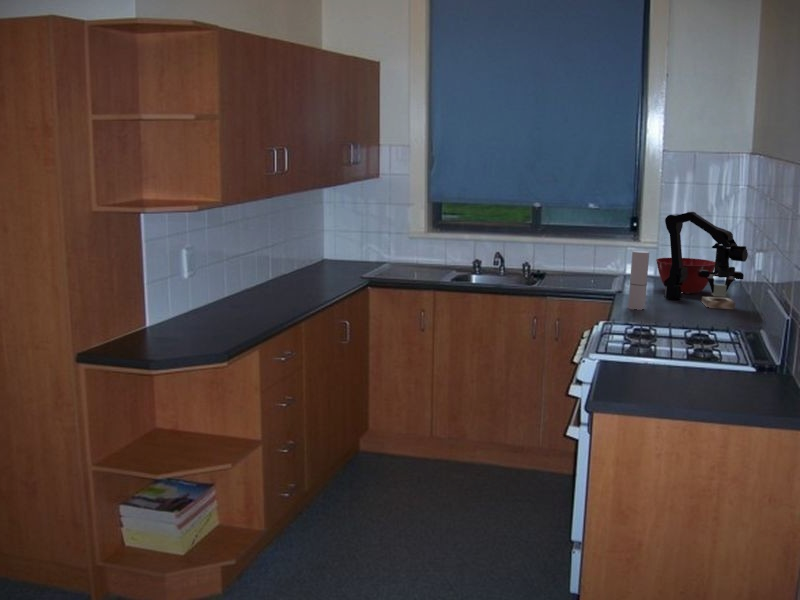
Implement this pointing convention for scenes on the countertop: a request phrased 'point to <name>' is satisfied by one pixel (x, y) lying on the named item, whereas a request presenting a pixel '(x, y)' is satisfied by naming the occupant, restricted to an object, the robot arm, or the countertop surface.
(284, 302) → the countertop surface
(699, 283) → the mixing bowl
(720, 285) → the gray cube
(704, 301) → the birch base
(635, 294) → the white rectangular tower
